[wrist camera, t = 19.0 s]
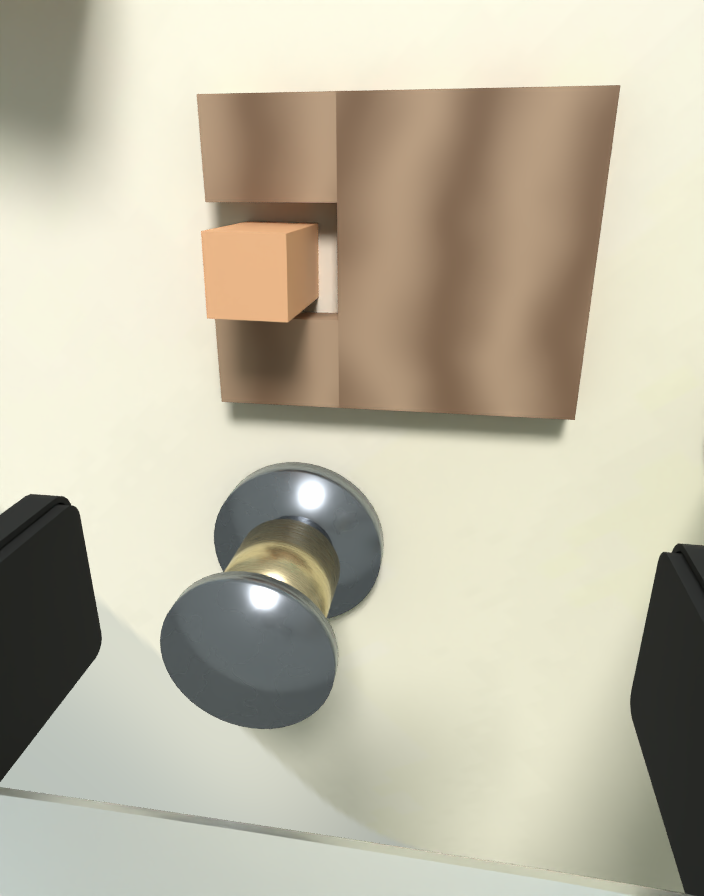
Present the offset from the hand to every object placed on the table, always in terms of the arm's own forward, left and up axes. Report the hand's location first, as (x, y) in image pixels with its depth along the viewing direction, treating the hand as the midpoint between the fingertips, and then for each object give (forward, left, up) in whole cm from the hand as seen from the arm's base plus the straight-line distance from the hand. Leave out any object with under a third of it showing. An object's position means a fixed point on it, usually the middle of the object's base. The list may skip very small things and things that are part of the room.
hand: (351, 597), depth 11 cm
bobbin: (+8, +16, -28) cm, 33 cm away
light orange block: (+8, -2, -28) cm, 30 cm away
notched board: (+2, -2, -28) cm, 28 cm away
